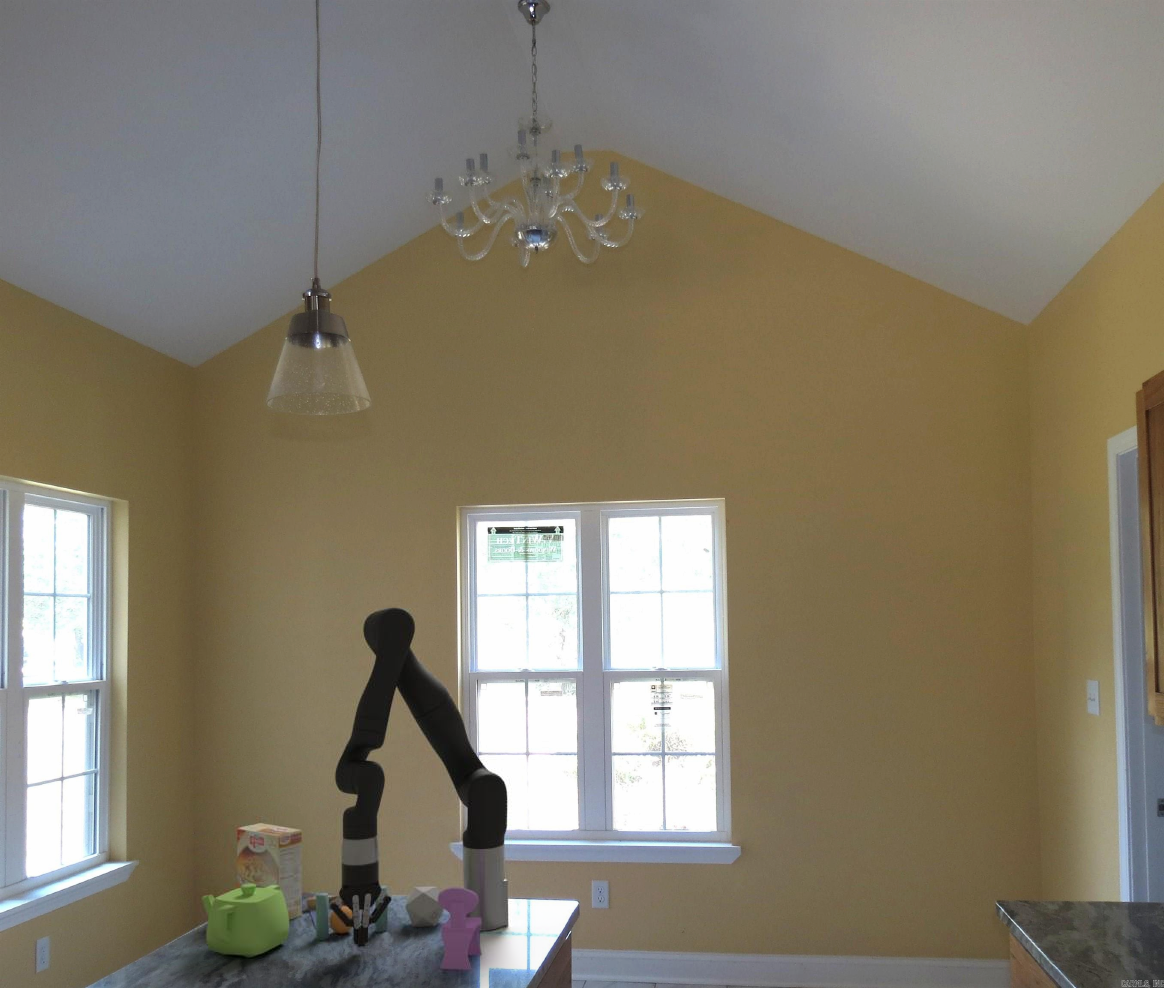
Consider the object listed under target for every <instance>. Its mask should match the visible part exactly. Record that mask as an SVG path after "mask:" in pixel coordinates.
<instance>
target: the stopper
mask: <svg viewBox="0 0 1164 988" xmlns="http://www.w3.org/2000/svg"><path fill="white" fill-rule="evenodd" d="M338 896H339V893H335V894H329V903H330V901H332V900H335V899H336V898H337V897H338ZM341 903H342V906H346V904H345V903H344V902H343V900H342V901H341ZM329 908H330V905H329ZM314 909H316V896H311V897H306V911H307V912H310V910H314Z"/></svg>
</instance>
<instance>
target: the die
mask: <svg viewBox="0 0 1164 988" xmlns="http://www.w3.org/2000/svg"><path fill="white" fill-rule="evenodd" d="M440 892H441V891H440V890H439V888H438V886H414V887H413V890H412V891H411V893H410V896H409V898H408V900H407V901H406V903H405V905H404V908H405V909H406V912H407V914H408V917H409V920H410V922H411V925H412V927H413V928H414V927H415V928H417V927H436V926H437V924H438V923H439V920H440V918H441V916H442V914H443V912H444V910H445V909H444V908H443V907H441V906H440V904H439V903H438V895H439V893H440Z"/></svg>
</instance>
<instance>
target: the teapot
mask: <svg viewBox="0 0 1164 988" xmlns="http://www.w3.org/2000/svg"><path fill="white" fill-rule="evenodd" d="M201 900H202V904H203V906H204V909H205V911H206V913H207V917H208V919H207V920H208V921H207V925H206V926H207V927H206V935H205V940H206V944H207V946H208V949H209V950H210V952H214V953H218V954H219V953H220V954H221V955H233V956H235V955H236V956H244V957H245V958H254V957H256V956H258V955H261V954H264V953H266V952H268V951H270V950H272V949H273V948H274V949H275V948H276V947H278V946H280V945H281V944H283V943H284V942H286V941H287V938H288V935H289V933H290V920H289V917H288V911H287V906H286V903H285V899H284V896H283V893H282V891H280V886H279V885H270V886H268V887H266V888H256V884H252V883H250V884H244V885H242V886H241V888H237V887H236V888H235V889H233V890H230V891H228V892H225V893H223V894H221V895H219V896H216V897H214V896H213V894H210V895H209V894H208V895H204V896H202V897H201Z"/></svg>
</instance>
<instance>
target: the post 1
mask: <svg viewBox="0 0 1164 988" xmlns="http://www.w3.org/2000/svg"><path fill="white" fill-rule="evenodd" d="M329 895H330V894H329V893H328V892H321V893H317V894H316V895H315V897H316V928H315V939H316V940H317V941H324V940H327V939H330V938H329V937H330V936H329V935H330V934H329V932H330V930H329V928H330V927H329Z"/></svg>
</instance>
